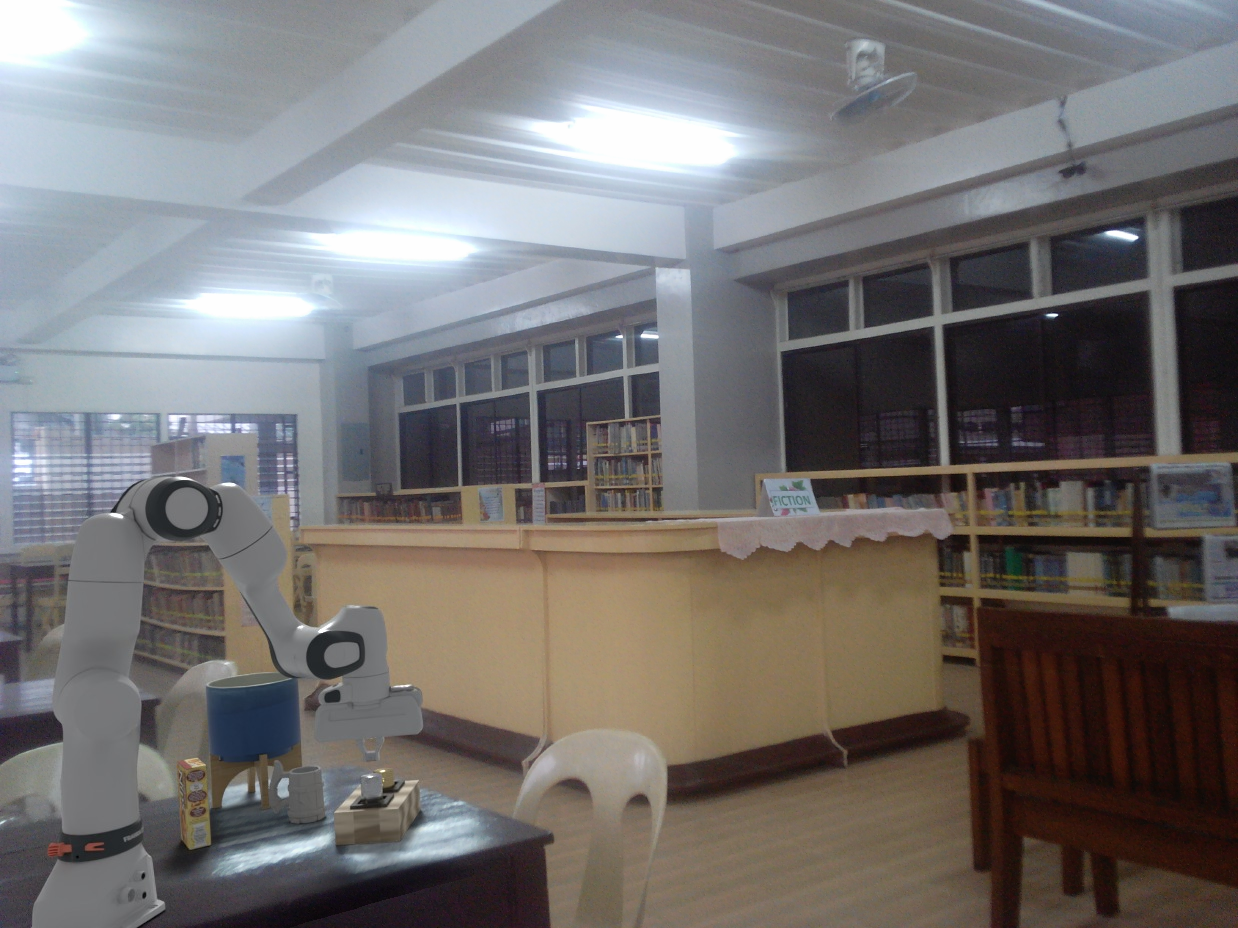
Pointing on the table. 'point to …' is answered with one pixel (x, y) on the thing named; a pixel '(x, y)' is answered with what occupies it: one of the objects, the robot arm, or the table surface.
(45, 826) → the table surface
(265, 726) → the planter
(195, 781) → the candy box
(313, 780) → the mug
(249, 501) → the robot arm
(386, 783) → the peg
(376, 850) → the table surface
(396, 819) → the socket block
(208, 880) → the table surface
